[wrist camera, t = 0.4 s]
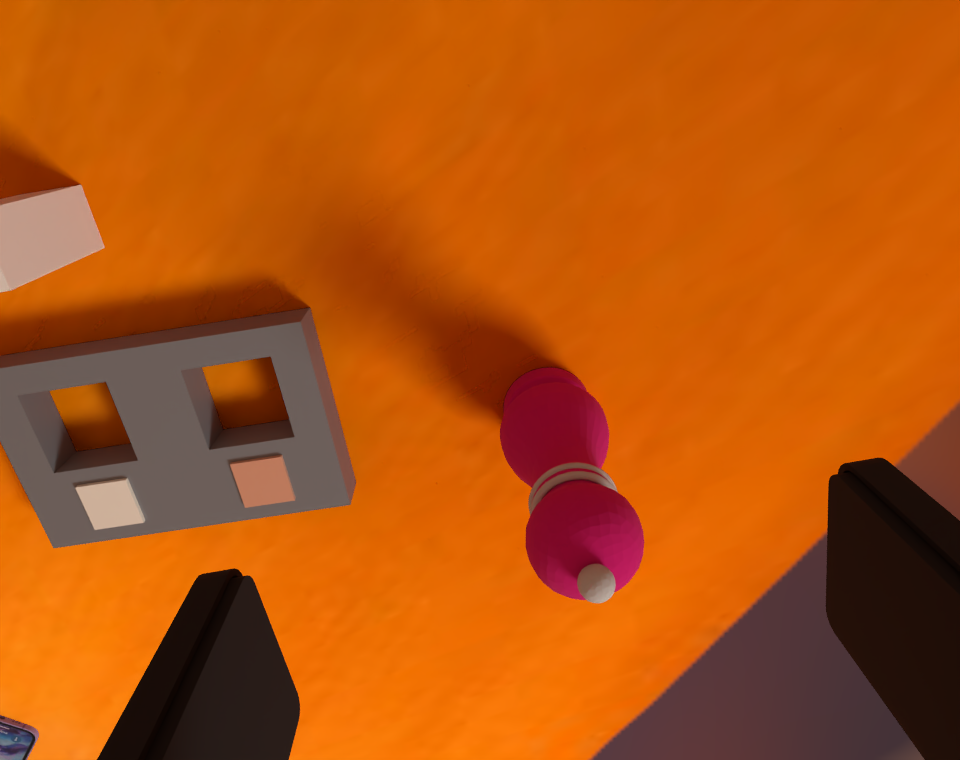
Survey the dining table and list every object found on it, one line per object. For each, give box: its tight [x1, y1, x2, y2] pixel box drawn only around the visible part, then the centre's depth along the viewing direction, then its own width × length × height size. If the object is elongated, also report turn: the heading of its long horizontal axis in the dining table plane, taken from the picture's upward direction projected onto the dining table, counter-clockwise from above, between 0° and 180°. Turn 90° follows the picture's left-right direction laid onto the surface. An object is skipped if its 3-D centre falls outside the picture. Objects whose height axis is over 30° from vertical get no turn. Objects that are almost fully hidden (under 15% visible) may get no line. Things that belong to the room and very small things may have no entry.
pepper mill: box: [500, 367, 644, 603], centre depth 40 cm, size 7×7×20 cm
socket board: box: [0, 308, 356, 548], centre depth 47 cm, size 14×22×3 cm, turn 99°
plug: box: [0, 185, 105, 292], centre depth 37 cm, size 4×4×12 cm
